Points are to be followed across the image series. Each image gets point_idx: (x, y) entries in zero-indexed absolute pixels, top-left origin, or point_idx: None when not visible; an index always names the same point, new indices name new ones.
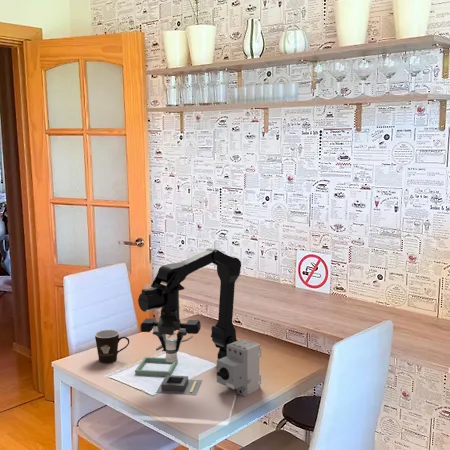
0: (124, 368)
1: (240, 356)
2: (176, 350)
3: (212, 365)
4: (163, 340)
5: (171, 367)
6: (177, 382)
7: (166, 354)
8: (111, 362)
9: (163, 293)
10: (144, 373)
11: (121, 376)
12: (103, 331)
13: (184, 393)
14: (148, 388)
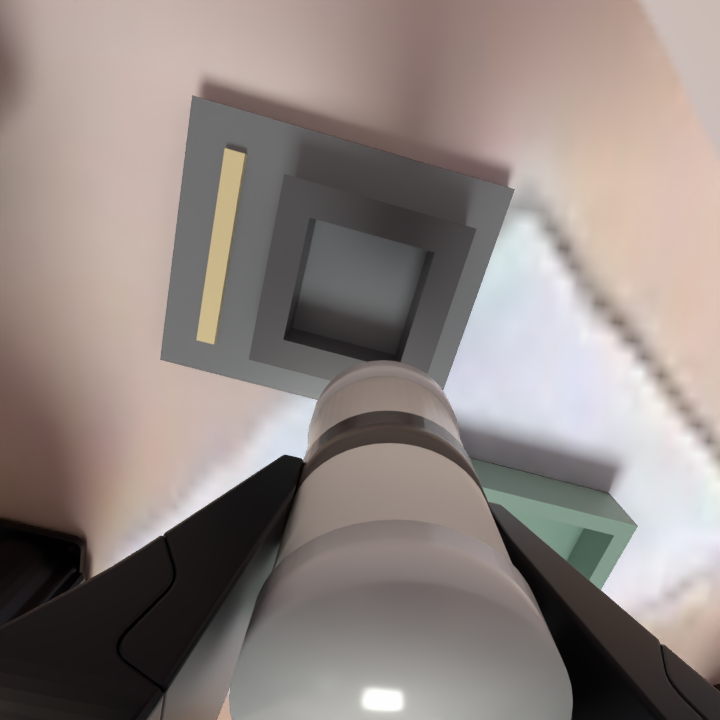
0: (653, 612)
1: None
2: (298, 467)
3: None
4: (638, 687)
5: None
6: (339, 342)
7: (462, 444)
8: (716, 686)
9: None
10: (563, 497)
11: (693, 517)
12: None
13: (287, 143)
14: (544, 323)
